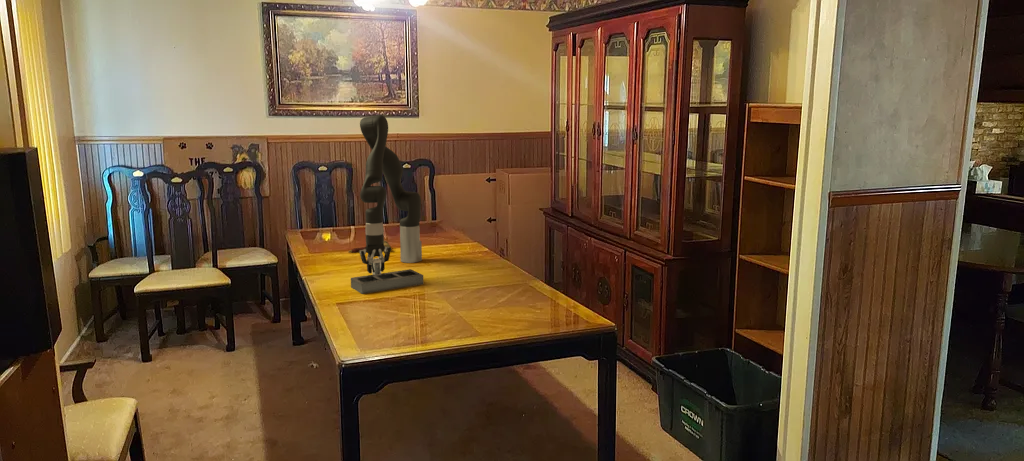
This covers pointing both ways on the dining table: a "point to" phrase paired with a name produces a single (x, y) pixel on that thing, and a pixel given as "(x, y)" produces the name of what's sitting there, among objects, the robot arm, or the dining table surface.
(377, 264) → the milkshake
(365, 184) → the robot arm
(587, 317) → the dining table surface
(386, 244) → the gavel
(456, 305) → the dining table surface
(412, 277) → the three-window grey frame
